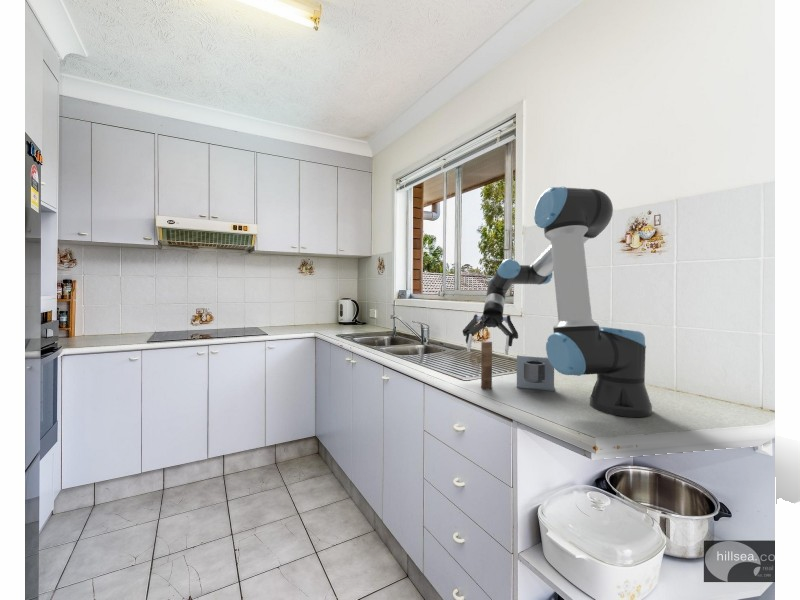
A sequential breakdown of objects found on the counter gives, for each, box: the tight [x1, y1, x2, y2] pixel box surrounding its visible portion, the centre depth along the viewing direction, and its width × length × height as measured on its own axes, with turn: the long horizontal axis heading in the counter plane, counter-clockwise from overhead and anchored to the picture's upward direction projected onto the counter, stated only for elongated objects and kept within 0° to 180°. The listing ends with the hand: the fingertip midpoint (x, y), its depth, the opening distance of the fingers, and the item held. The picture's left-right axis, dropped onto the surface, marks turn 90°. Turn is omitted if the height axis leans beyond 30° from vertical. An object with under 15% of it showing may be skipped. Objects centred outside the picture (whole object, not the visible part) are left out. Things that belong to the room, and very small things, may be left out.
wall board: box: [516, 355, 555, 392], centre depth 124 cm, size 5×12×11 cm, turn 67°
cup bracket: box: [524, 360, 545, 383], centre depth 118 cm, size 8×6×6 cm
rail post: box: [480, 340, 493, 390], centre depth 123 cm, size 4×4×16 cm
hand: (486, 351), depth 127 cm, fingers open, 13 cm apart
